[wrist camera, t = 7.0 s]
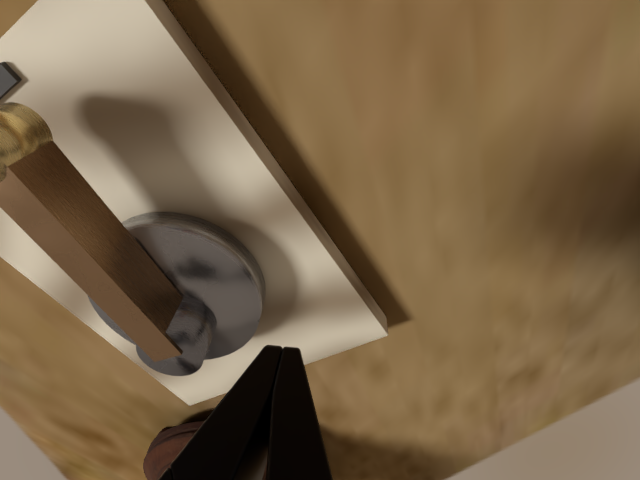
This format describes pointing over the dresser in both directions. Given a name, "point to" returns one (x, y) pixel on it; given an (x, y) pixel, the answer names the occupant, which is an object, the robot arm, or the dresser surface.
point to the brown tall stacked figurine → (169, 449)
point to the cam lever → (131, 255)
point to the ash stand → (175, 174)
